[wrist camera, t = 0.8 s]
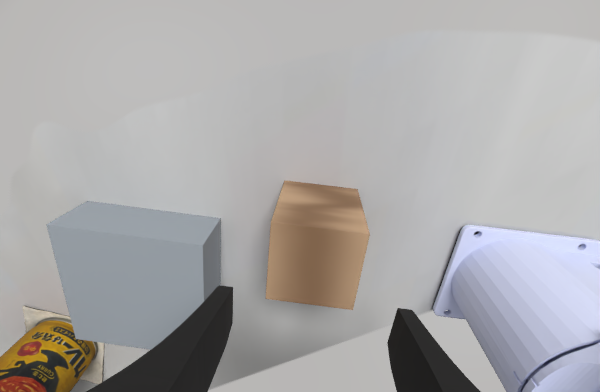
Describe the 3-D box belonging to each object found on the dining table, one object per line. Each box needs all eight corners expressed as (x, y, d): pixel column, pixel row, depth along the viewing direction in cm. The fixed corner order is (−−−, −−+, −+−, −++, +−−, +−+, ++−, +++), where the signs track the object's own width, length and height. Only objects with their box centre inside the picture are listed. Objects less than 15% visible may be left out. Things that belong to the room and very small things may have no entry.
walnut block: (357, 188, 21) (369, 234, 15) (345, 250, 23) (352, 309, 17) (284, 180, 21) (271, 221, 15) (279, 242, 23) (265, 298, 17)
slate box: (222, 216, 23) (202, 245, 19) (221, 317, 27) (204, 357, 23) (90, 198, 23) (46, 224, 19) (109, 301, 27) (75, 338, 23)
